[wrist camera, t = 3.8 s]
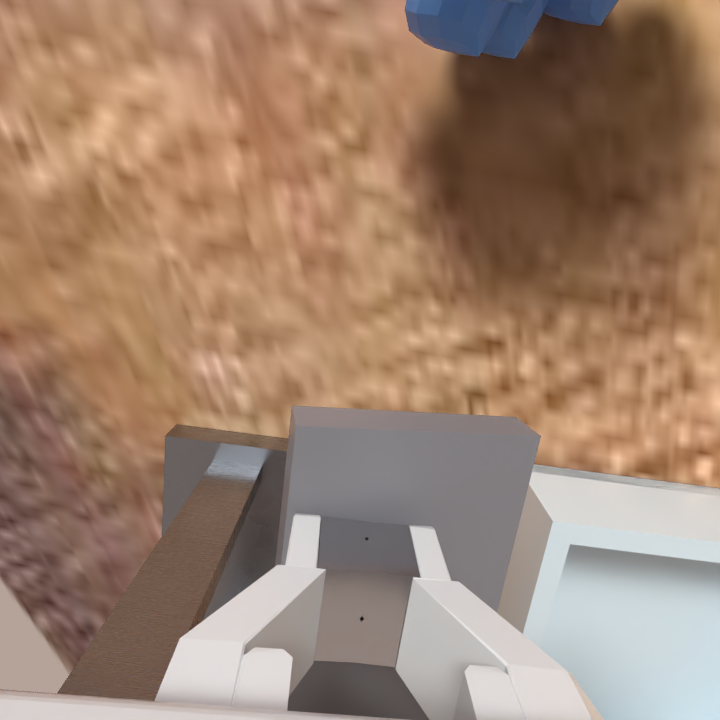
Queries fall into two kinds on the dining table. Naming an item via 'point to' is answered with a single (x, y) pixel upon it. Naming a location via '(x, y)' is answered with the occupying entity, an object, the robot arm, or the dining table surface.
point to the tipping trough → (407, 515)
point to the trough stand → (190, 557)
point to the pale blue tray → (622, 589)
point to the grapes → (493, 22)
